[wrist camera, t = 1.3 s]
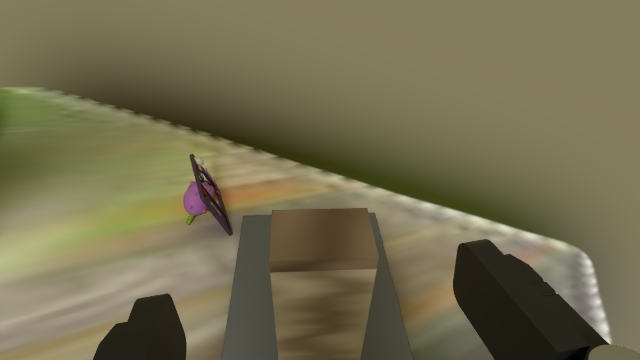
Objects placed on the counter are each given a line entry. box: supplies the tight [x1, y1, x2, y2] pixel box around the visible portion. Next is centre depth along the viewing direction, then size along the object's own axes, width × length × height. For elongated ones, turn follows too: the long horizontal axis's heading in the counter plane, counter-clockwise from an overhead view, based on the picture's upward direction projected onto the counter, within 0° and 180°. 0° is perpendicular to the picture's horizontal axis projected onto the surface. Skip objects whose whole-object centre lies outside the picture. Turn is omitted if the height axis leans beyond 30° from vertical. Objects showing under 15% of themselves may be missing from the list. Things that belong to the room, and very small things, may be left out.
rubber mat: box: [221, 213, 413, 360], centre depth 35 cm, size 16×24×1 cm
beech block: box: [269, 208, 379, 360], centre depth 26 cm, size 6×4×15 cm, turn 93°
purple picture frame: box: [184, 154, 233, 235], centre depth 43 cm, size 7×5×9 cm
